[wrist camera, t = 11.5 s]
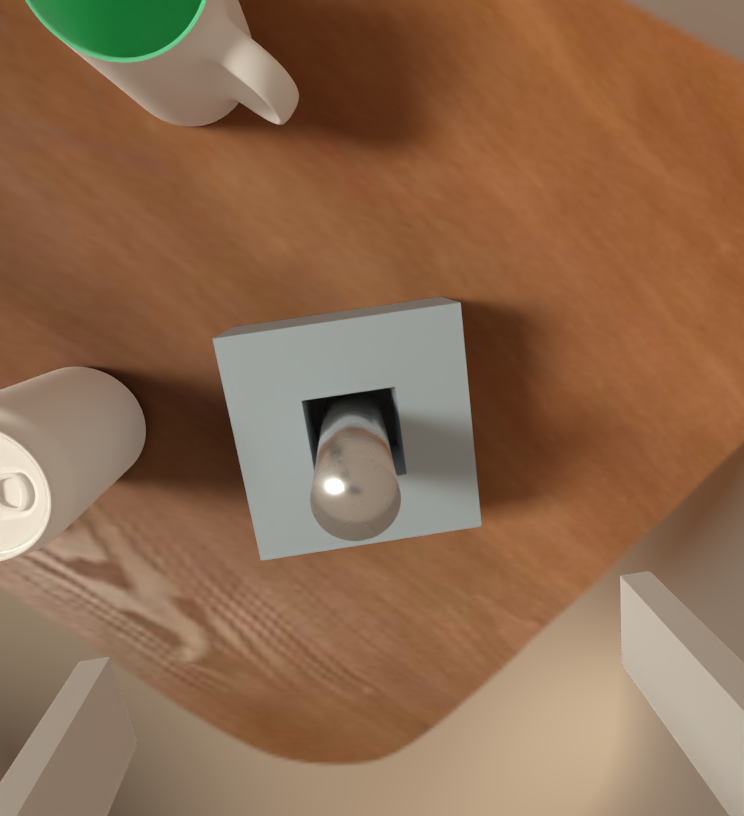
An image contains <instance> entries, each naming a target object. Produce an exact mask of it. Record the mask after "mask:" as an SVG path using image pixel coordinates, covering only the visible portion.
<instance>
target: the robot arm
mask: <svg viewBox="0 0 744 816" xmlns="http://www.w3.org/2000/svg"><path fill="white" fill-rule="evenodd" d="M620 584H621V640H622V641H621V642H622V665H623V667H624V668H625V670H626V671H627V672H628V674H629V675H630V677H631V678H632V679H633V681H634V682H635V684H636V685H637V686H638V688H639V689H640V691H641V692H642V693H643V695H644V696H645V698H646V699H647V700H648V702H649V703H650V705H651V706H652V708H653V709H654V710H655V712H656V713H657V715H658V716H659V717H660V719H661V720H662V722H663V723H664V724H665V726H666V727H667V729H668V730H669V731H670V733H671V734H672V736H673V737H674V738H675V740H676V741H677V743H678V744H679V745H680V747H681V748H682V750H683V751H684V752H685V754H686V755H687V757H688V758H689V759H690V761H691V762H692V764H693V765H694V767H695V768H696V769H697V771H698V772H699V774H700V775H701V776H702V778H703V779H704V781H705V782H706V783H707V785H708V786H709V788H710V789H711V790H712V792H713V793H714V795H715V796H716V797H717V799H718V800H719V802H720V803H721V805H722V806H723V807H724V808H725V810H726V811H727V813H728V814H729V816H744V663H743V662H742V661H741V660H739V658H738V657H737V656H736V655H735V654H734V653H733V652H732V651H730V649H729V648H728V647H727V646H725V645H724V644H723V643H722V642H721V641H720V640H719V639H718V638H717V637H716V636H715V635H714V634H713V633H712V632H711V631H710V630H709V629H708V628H707V627H706V626H705V625H704V624H703V623H702V622H701V621H700V620H699V619H698V618H697V617H696V616H695V615H694V614H693V613H692V612H691V611H690V610H689V609H688V608H687V607H686V606H685V605H684V604H683V603H681V601H680V600H679V599H678V598H676V597H675V596H674V595H673V594H672V593H671V592H670V591H669V590H668V589H667V588H666V587H665V586H664V585H663V584H662V583H661V582H660V581H659V580H658V579H657V578H656V577H655V576H654V575H653V574H652V573H651V572H650V571H646V572H640V573H634V574H628V575H622V576H620ZM137 744H138V743H137V740H136V737H135V734H134V731H133V727H132V724H131V721H130V718H129V715H128V712H127V709H126V706H125V702H124V699H123V696H122V693H121V690H120V687H119V684H118V681H117V678H116V674H115V671H114V668H113V665H112V662H111V659H110V657H106V658H100V659H94V660H87V661H81V662H79V663H78V665H77V666H76V668H75V669H74V671H73V672H72V674H71V675H70V677H69V678H68V680H67V681H66V683H65V684H64V686H63V688H62V689H61V690H60V692H59V694H58V695H57V697H56V698H55V700H54V701H53V703H52V704H51V706H50V707H49V709H48V710H47V712H46V713H45V715H44V716H43V718H42V719H41V721H40V722H39V724H38V726H37V727H36V729H35V730H34V732H33V733H32V735H31V736H30V738H29V739H28V741H27V742H26V744H25V745H24V747H23V748H22V750H21V752H20V753H19V755H18V756H17V757H16V759H15V760H14V762H13V764H12V765H11V767H10V768H9V770H8V771H7V773H6V774H5V776H4V777H3V779H2V780H1V782H0V816H107V814H108V812H109V810H110V808H111V805H112V803H113V801H114V798H115V796H116V793H117V791H118V789H119V786H120V784H121V782H122V779H123V777H124V774H125V772H126V770H127V767H128V765H129V763H130V760H131V758H132V755H133V753H134V751H135V748H136V746H137Z"/></svg>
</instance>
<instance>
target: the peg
mask: <svg viewBox="0 0 744 816" xmlns="http://www.w3.org/2000/svg"><path fill="white" fill-rule="evenodd" d="M310 503H311V509H312V513H313V515H314V517H315V519H316V521H317V522H318V524H319V525H320V526H321V527H322V528H323V529H324V530H325V531H326V532H328V533H329V534H331V535H333V536H335V537H337V538H339V539H343V540H348V541H363V540H367V539H371V538H374V537H376V536H378V535H380V534H381V533H383V532H384V531H385V530H387V529H388V528H389V527H390V526H391V525H392V523H393V522H394V520H395V519H396V517H397V515H398V512H399V510H400V505H401V492H400V488H399V483H398V479H397V475H396V471H395V466H394V462H393V458H392V454H391V449H390V445H389V441H388V437H387V432H386V428H385V424H384V420H383V416H382V411H381V407H380V404H379V402H378V400H377V398H376V397H375V396H374V395H373V394H372V393H371V392H370V391H364V392H357V393H350V394H343V395H337V396H330V397H329V398H328V400H327V402H326V404H325V407H324V413H323V419H322V426H321V432H320V438H319V445H318V451H317V457H316V464H315V470H314V476H313V483H312V489H311V495H310Z"/></svg>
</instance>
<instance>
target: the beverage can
mask: <svg viewBox="0 0 744 816" xmlns="http://www.w3.org/2000/svg"><path fill="white" fill-rule="evenodd" d="M145 437H146V425H145V419H144V415H143V412H142V409H141V407H140V405H139V403H138V401H137V400H136V398H135V397H134V395H133V394H132V393H131V392H130V391H129V389H128V388H127V387H126V386H124V385H123V384H122V383H121V382H120V381H118V380H117V379H115V378H114V377H112V376H110V375H108V374H106V373H104V372H102V371H99V370H96V369H92V368H87V367H66V368H61V369H58V370H54V371H52V372H49V373H46V374H43V375H40V376H38V377H35V378H32V379H29V380H27V381H24V382H21V383H18V384H15V385H13V386H10V387H7V388H4V389H2V390H0V561H3V560H7V559H10V558H13V557H15V556H20V555H24V554H28V553H31V552H33V551H36V550H38V549H40V548H42V547H44V546H45V545H47V544H49V543H50V542H52V541H53V540H54V539H55V538H56V537H58V536H59V535H60V534H61V533H62V532H63V531H64V530H65V529H66V528H67V527H68V526H69V525H70V524H71V523H72V522H73V521H75V520H76V519H77V518H78V517H79V516H80V515H81V514H82V513H83V512H84V511H85V510H86V509H87V508H88V507H89V506H90V505H91V504H92V503H93V502H94V501H95V500H97V499H98V498H99V497H100V496H101V495H102V494H103V493H104V492H105V491H106V490H107V489H108V488H109V487H110V486H111V485H112V484H113V483H114V482H115V481H116V480H118V479H119V478H120V477H121V476H122V475H123V474H124V473H125V472H126V471H127V470H128V469H129V468H130V467H131V466H132V465H133V464H134V463H135V462H136V460H137V459H138V457H139V456H140V454H141V452H142V449H143V446H144V443H145Z"/></svg>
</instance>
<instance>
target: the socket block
mask: <svg viewBox="0 0 744 816" xmlns="http://www.w3.org/2000/svg"><path fill="white" fill-rule="evenodd" d="M213 343H214V348H215V352H216V357H217V361H218V366H219V371H220V375H221V380H222V384H223V389H224V393H225V398H226V403H227V407H228V412H229V416H230V421H231V426H232V430H233V435H234V439H235V444H236V448H237V453H238V458H239V462H240V467H241V471H242V476H243V481H244V485H245V490H246V494H247V499H248V503H249V508H250V513H251V517H252V522H253V526H254V531H255V536H256V540H257V545H258V549H259V554H260V558H261V561H262V560H268V559H275V558H281V557H287V556H294V555H300V554H307V553H313V552H320V551H326V550H332V549H339V548H345V547H352V546H358V545H364V544H371V543H377V542H384V541H390V540H397V539H403V538H409V537H416V536H422V535H429V534H435V533H442V532H448V531H454V530H461V529H467V528H474V527H480V526H482V525H481V514H480V504H479V493H478V482H477V472H476V461H475V451H474V440H473V429H472V419H471V408H470V397H469V387H468V376H467V365H466V355H465V344H464V333H463V323H462V312H461V302H457V301H454V300H450V299H447V298H443V297H437V298H430V299H423V300H416V301H409V302H402V303H396V304H389V305H382V306H375V307H368V308H361V309H355V310H348V311H341V312H334V313H327V314H320V315H313V316H307V317H300V318H293V319H286V320H279V321H272V322H266V323H259V324H252V325H245V326H238V327H233V328H231V329H229V330H227V331H226V332H224V333H222V334H220V335H218V336H217V337H215V338H213ZM364 391H370V392H371V393H372V394H373V395H374V396H375V397H376V398H377V400H378V402H379V404H380V407H381V411H382V416H383V420H384V424H385V428H386V432H387V437H388V441H389V445H390V449H391V454H392V458H393V462H394V466H395V471H396V475H397V479H398V483H399V488H400V492H401V505H400V510H399V512H398V515H397V517H396V519H395V520H394V522H393V523H392V525H391V526H390V527H389V528H388V529H387V530H385V531H384V532H383V533H381V534H380V535H378V536H376V537H374V538H371V539H367V540H363V541H348V540H343V539H339V538H337V537H335V536H333V535H331V534H329V533H328V532H326V531H325V530H324V529H323V528H322V527H321V526H320V525H319V524H318V522H317V521H316V519H315V517H314V515H313V513H312V509H311V503H310V495H311V489H312V483H313V476H314V470H315V464H316V457H317V451H318V445H319V438H320V432H321V426H322V419H323V413H324V407H325V404H326V402H327V400H328V398H329V397H330V396H337V395H343V394H350V393H357V392H364Z"/></svg>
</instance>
